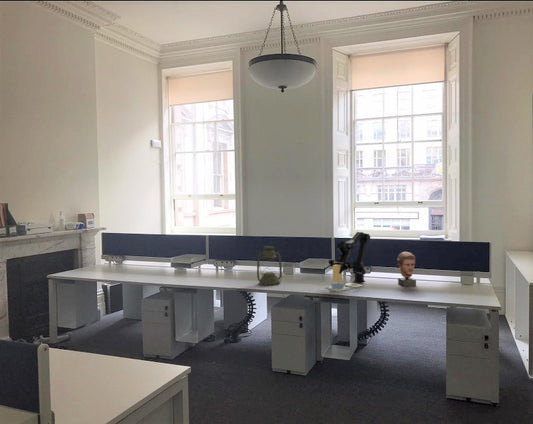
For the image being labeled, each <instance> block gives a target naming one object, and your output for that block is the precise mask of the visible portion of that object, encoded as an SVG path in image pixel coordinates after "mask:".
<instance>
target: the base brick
mask: <svg viewBox="0 0 533 424" xmlns="http://www.w3.org/2000/svg"><path fill="white" fill-rule="evenodd" d="M344 284H345V283H344V282H343V283H342V282H340V283H337V282H332V283H331V286H332V288H337V289H339V288H344V287H345V285H344Z"/></svg>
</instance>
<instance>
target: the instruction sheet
mask: <svg viewBox="0 0 533 424" xmlns="http://www.w3.org/2000/svg"><path fill="white" fill-rule="evenodd" d="M343 284H344V286H347V287H353V288H359V287H362V286H364V285H363V284H359V283H356V282H355V283H354V282H349V283H343Z"/></svg>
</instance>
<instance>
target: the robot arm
mask: <svg viewBox="0 0 533 424" xmlns="http://www.w3.org/2000/svg"><path fill="white" fill-rule="evenodd" d="M370 240H371V235H370V234H369V233H365V232H363V231H357V232H355V234H354V235H353V236H352V238H350V240H347V241H345V242H344V240H343V241H340V242H338V244H336V247H337V250H338V252H339V253H340V254H339V255H338V257H339V258H337V259H336V260H335V259H329V260H328V264H329V266H330V267H332V268H333V265H336V264H338V265H342V266H341V269H340V272H339V274H341V273H342V274H343V272H344V271H347V270H352V274H354V280H353V282H355V283H356V282H357V283H363V282H366V280H365V278H364V277H365V275H366V273H367V271H366V270H365V265H364V258H365V253H366V247H367V245H368V244H369V242H370ZM358 242H359V247H358V248H359V249H358V251H357V252H358V253H357V257H356V261H355V262H354V261H353V263H352V262H351V261H349V260H348V258H349V256H352V253H351V252H350V251H353V250H354V249H355V247H356V244H357V243H358Z"/></svg>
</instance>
